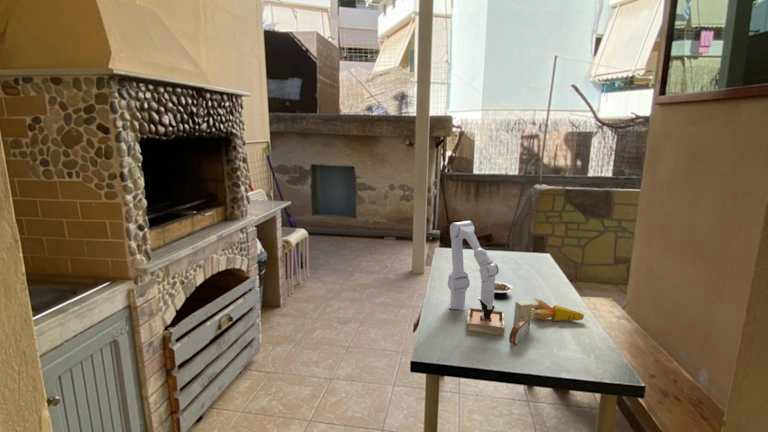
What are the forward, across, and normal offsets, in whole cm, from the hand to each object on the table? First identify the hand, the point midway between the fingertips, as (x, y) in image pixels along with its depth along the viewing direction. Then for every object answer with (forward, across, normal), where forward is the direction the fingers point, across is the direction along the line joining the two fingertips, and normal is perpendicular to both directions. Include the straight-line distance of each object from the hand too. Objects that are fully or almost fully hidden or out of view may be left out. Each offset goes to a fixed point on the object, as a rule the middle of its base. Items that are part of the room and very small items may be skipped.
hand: (485, 316), depth 188 cm
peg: (+3, 0, 0) cm, 3 cm away
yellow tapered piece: (+4, -7, +33) cm, 34 cm away
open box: (+4, 0, 0) cm, 4 cm away
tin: (+4, +12, +12) cm, 18 cm away
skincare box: (+4, +1, +16) cm, 17 cm away
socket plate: (+4, 0, 0) cm, 4 cm away
